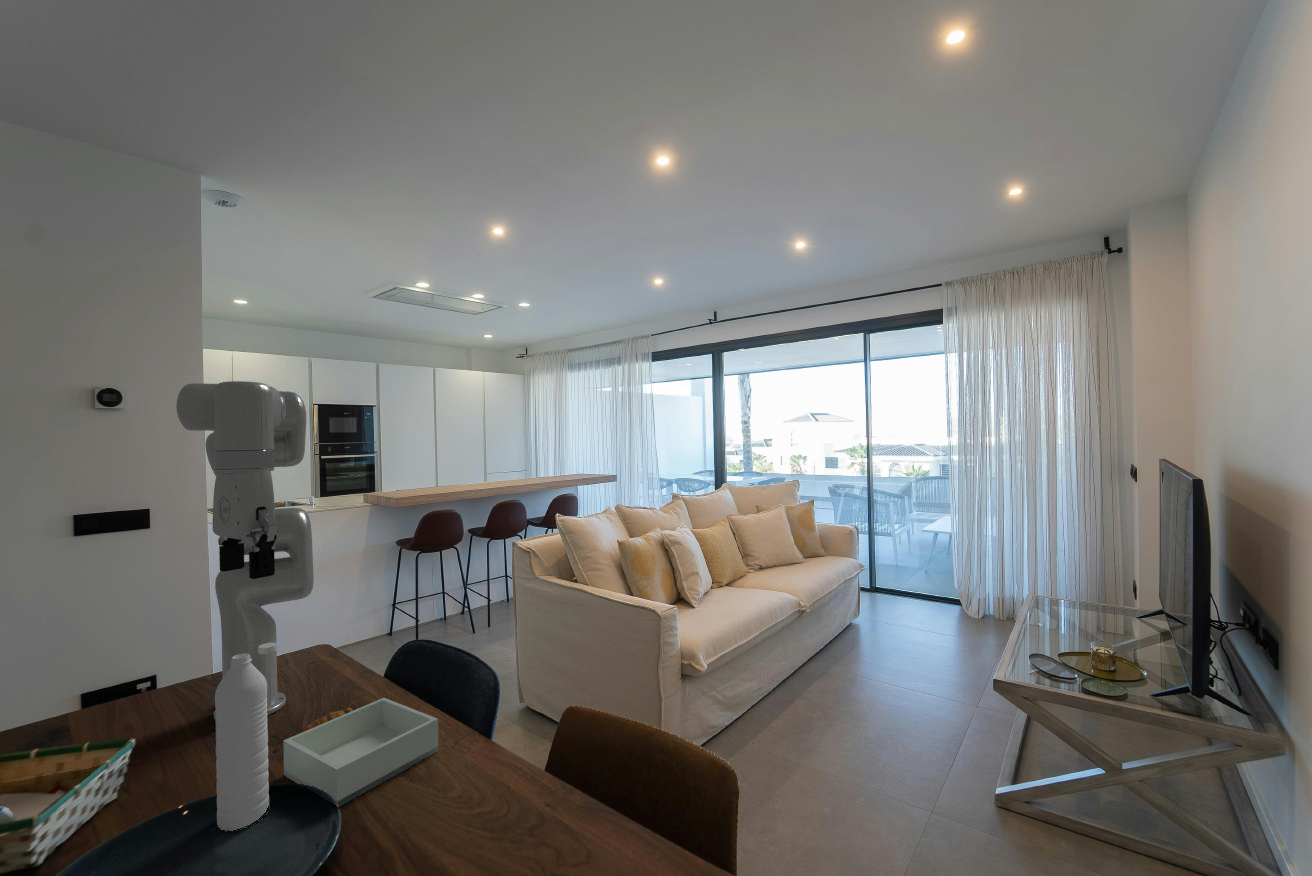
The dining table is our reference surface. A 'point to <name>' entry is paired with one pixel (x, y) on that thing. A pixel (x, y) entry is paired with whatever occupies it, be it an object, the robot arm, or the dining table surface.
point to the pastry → (327, 718)
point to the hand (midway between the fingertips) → (246, 573)
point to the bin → (360, 749)
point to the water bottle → (242, 743)
